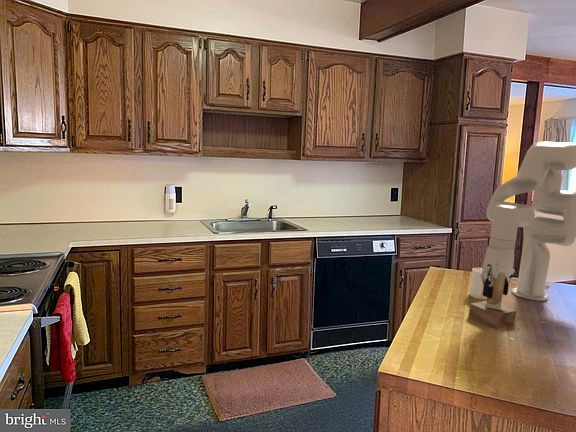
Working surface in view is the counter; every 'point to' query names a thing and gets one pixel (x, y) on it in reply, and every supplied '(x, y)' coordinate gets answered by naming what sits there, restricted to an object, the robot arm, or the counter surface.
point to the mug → (477, 284)
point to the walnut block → (492, 315)
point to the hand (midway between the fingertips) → (494, 295)
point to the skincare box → (496, 293)
